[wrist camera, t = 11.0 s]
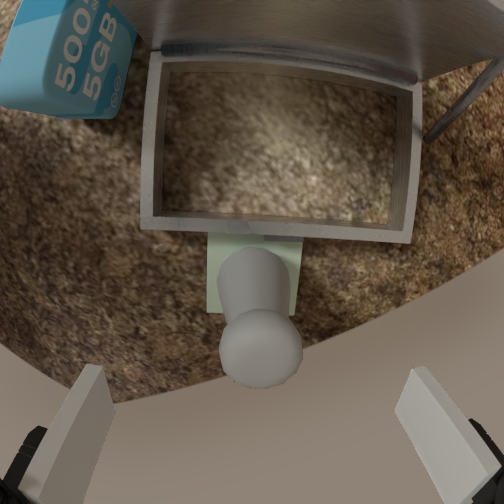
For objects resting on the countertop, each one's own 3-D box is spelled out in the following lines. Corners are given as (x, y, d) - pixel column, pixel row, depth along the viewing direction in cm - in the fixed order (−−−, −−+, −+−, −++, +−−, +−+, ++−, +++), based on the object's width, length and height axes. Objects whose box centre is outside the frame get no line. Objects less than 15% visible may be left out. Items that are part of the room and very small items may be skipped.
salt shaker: (229, 231, 25) (220, 297, 13) (294, 250, 26) (340, 326, 14) (211, 294, 27) (192, 393, 14) (273, 310, 28) (295, 413, 15)
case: (151, 227, 26) (38, 321, 9) (161, 53, 21) (72, -60, 5) (403, 241, 27) (534, 321, 10) (414, 83, 23) (551, 41, 6)
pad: (207, 310, 28) (206, 312, 27) (208, 224, 26) (207, 225, 25) (293, 313, 28) (294, 315, 28) (303, 229, 26) (304, 230, 26)
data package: (118, 121, 23) (39, 98, 11) (76, 121, 22) (-12, 106, 11) (147, 4, 20) (102, -67, 8) (104, 8, 19) (46, -51, 8)
